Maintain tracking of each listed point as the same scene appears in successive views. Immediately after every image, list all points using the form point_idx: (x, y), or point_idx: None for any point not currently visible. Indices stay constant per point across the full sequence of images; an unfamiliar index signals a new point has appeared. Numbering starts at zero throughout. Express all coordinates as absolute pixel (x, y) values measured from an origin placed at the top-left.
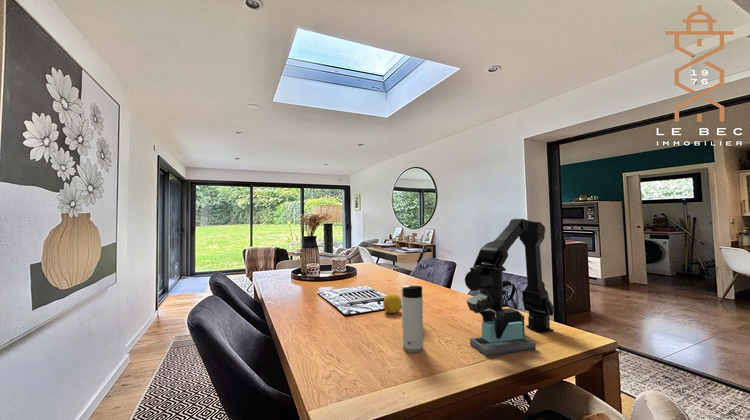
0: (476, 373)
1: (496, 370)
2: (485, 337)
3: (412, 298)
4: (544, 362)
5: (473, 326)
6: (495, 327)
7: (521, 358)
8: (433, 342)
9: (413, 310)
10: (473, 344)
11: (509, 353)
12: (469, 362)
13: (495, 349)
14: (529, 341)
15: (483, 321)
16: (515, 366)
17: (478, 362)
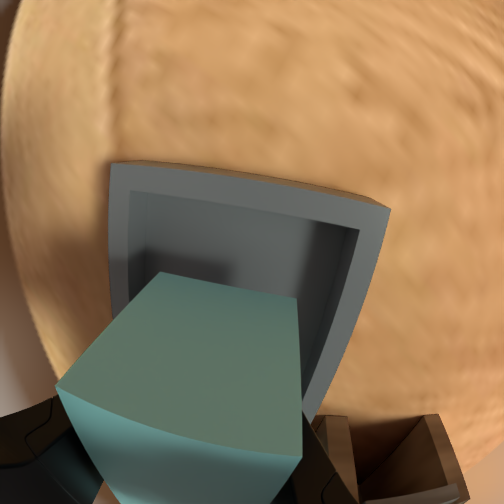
0: (55, 11)
1: (28, 115)
2: (229, 300)
3: None
4: (56, 368)
5: (491, 401)
6: (67, 418)
7: (86, 334)
8: (489, 24)
9: None
10: (324, 190)
11: None
12: (139, 12)
13: (113, 252)
14: None
15: (451, 456)
16: (31, 237)
17: (112, 62)
